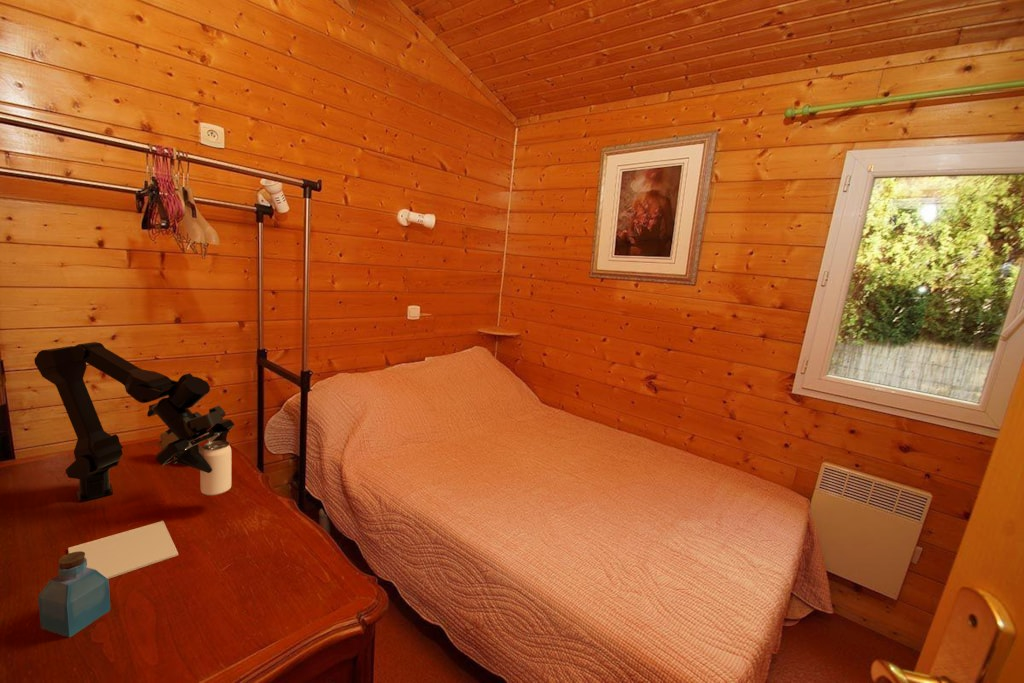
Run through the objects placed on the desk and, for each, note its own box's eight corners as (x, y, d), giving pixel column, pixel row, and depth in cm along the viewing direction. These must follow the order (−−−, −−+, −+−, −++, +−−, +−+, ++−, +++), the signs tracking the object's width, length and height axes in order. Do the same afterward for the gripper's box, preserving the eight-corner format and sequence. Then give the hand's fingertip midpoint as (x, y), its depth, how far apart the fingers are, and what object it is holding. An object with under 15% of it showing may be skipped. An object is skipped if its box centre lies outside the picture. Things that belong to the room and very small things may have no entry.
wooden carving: (210, 461, 135) (209, 431, 134) (197, 468, 131) (196, 436, 129) (165, 453, 138) (164, 423, 136) (151, 459, 133) (150, 428, 132)
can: (237, 488, 111) (237, 444, 109) (210, 498, 105) (210, 452, 104) (221, 481, 114) (221, 437, 112) (194, 491, 108) (194, 445, 106)
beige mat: (68, 549, 92) (68, 547, 92) (163, 522, 104) (163, 520, 104) (73, 590, 82) (73, 588, 82) (178, 555, 93) (178, 553, 93)
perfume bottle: (69, 637, 72) (64, 573, 70) (41, 628, 73) (35, 565, 71) (110, 610, 78) (106, 550, 76) (83, 602, 79) (79, 543, 77)
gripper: (166, 410, 97) (213, 463, 98) (228, 389, 115) (266, 434, 116) (135, 439, 99) (181, 491, 100) (201, 414, 117) (239, 457, 118)
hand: (220, 466), depth 108 cm, fingers closed on can, 6 cm apart
